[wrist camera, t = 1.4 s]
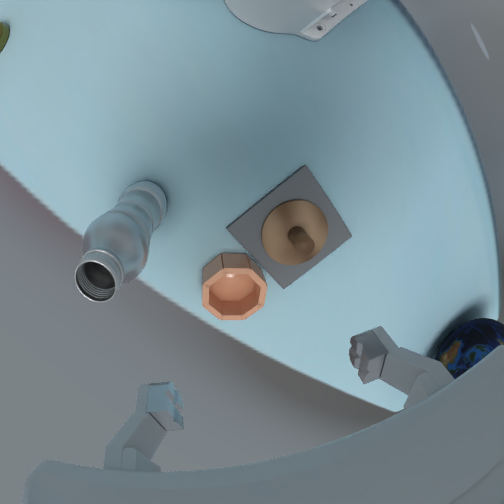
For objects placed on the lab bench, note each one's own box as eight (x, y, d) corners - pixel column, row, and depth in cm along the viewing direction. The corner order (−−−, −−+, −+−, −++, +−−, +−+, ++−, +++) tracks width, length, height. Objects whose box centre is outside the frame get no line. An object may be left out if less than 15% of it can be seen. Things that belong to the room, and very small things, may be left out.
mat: (304, 164, 36) (306, 165, 35) (350, 234, 42) (352, 236, 41) (226, 227, 38) (226, 229, 38) (282, 287, 44) (283, 289, 44)
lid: (302, 185, 36) (315, 194, 32) (337, 234, 41) (351, 248, 37) (246, 230, 38) (252, 245, 34) (286, 274, 43) (295, 291, 38)
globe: (413, 383, 74) (451, 445, 47) (418, 335, 60) (477, 416, 33) (472, 338, 72) (514, 389, 46) (486, 282, 58) (547, 339, 32)
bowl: (234, 241, 39) (238, 255, 35) (271, 279, 43) (277, 295, 39) (190, 278, 41) (189, 295, 37) (228, 311, 45) (231, 329, 41)
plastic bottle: (176, 186, 34) (145, 256, 17) (160, 230, 37) (128, 328, 19) (131, 171, 32) (61, 226, 15) (119, 216, 35) (57, 302, 17)
